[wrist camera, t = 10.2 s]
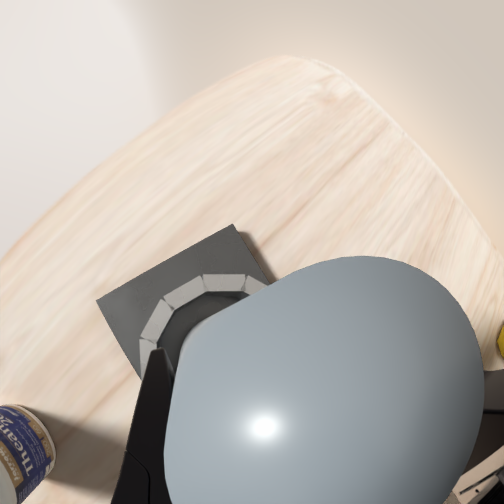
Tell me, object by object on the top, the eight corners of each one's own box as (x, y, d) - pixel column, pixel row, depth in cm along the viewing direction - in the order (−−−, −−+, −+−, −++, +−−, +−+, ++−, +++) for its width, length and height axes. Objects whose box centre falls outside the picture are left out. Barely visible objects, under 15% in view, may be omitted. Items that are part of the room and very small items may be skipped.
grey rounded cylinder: (283, 369, 16) (503, 427, 3) (211, 416, 14) (298, 609, 2) (238, 298, 16) (404, 195, 4) (163, 343, 15) (75, 398, 2)
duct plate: (328, 389, 18) (358, 399, 15) (211, 467, 15) (218, 495, 12) (229, 229, 19) (240, 207, 16) (101, 302, 17) (82, 295, 13)
